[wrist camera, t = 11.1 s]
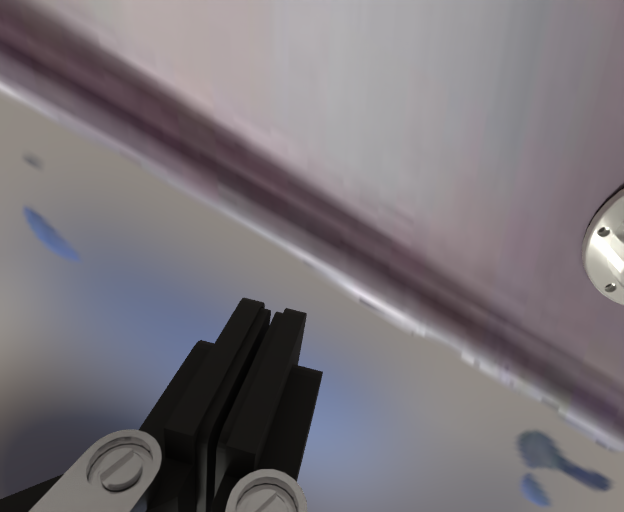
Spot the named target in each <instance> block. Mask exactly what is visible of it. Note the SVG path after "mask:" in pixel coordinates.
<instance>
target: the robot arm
mask: <svg viewBox="0 0 624 512" xmlns="http://www.w3.org/2000/svg"><path fill="white" fill-rule="evenodd" d="M600 228H601V229H600ZM582 260H583V266H584V268H585V271H586V273H587V275H588V277H589V279H590V280H591V281H592V283H593V284H594V286H595V287H596V288H597V289H598V290H599V291H600V292H601V293H602V294H603V295H604V296H606V297H608V298H609V299H611V300H612V301H614V302H616V303H619V304H621V305H624V189H622V190H620V191H619V192H618V193H617V194H616V195H614V196H613V197H612V198H611V199H610V200H609V201H607V202H606V203H605V204H604V206H603V207H602V208H601V209H600V210H599V211H598V213H597V214H596V215H595V217H594V218H593V220H592V222H591V223H590V225H589V227H588V228H587V231H586V234H585V237H584V240H583V246H582ZM264 307H265V305H264V303H263V302H259V301H255V300H251V299H247V298H242V300H241V301H240V303H239V304H238V306H237V307H236V309H235V311H234V312H233V314H232V316H231V317H230V319H229V321H228V322H227V324H226V326H225V327H224V329H223V331H222V332H221V334H220V336H219V337H218V339H217V341H216V342H215V344H214V343H210V342H206V341H202V340H200V341H198V342H197V343H196V345H195V346H194V347H193V349H192V350H191V352H190V353H189V355H188V356H187V358H186V359H185V361H184V362H183V364H182V365H181V367H180V368H179V370H178V371H177V373H176V374H175V376H174V377H173V379H172V380H171V382H170V383H169V385H168V386H167V388H166V390H165V391H164V393H163V394H162V396H161V397H160V399H159V400H158V402H157V403H156V405H155V406H154V408H153V409H152V411H151V412H150V414H149V415H148V417H147V418H146V420H145V421H144V423H143V424H142V426H141V427H140V429H139V430H122V431H118V432H114V433H111V434H109V435H107V436H105V437H103V438H101V439H100V440H98V441H97V442H96V443H95V444H94V445H92V446H91V447H90V448H89V449H88V450H87V451H86V452H85V453H84V454H83V455H82V456H81V457H80V458H79V459H78V460H77V461H76V462H75V463H74V464H73V465H72V467H71V468H70V469H69V470H68V471H67V472H66V473H65V474H62V475H60V476H57V477H55V478H52V479H50V480H47V481H45V482H42V483H40V484H37V485H35V486H33V487H30V488H28V489H25V490H23V491H20V492H18V493H15V494H13V495H10V496H8V497H5V498H3V499H0V512H307V504H306V498H305V496H304V493H303V491H302V488H301V487H300V486H299V485H298V483H297V478H298V474H299V470H300V466H301V462H302V458H303V454H304V450H305V446H306V442H307V437H308V434H309V430H310V426H311V421H312V417H313V413H314V409H315V405H316V400H317V396H318V391H319V387H320V383H321V378H322V374H323V372H321V371H317V370H314V369H310V368H306V367H302V366H298V361H299V355H300V350H301V344H302V339H303V333H304V327H305V322H306V313H304V312H300V311H296V310H292V309H288V308H286V309H285V310H284V312H283V313H280V312H276V313H275V315H274V317H273V319H272V322H271V324H270V316H271V310H268V309H264ZM269 324H270V326H269Z"/></svg>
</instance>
